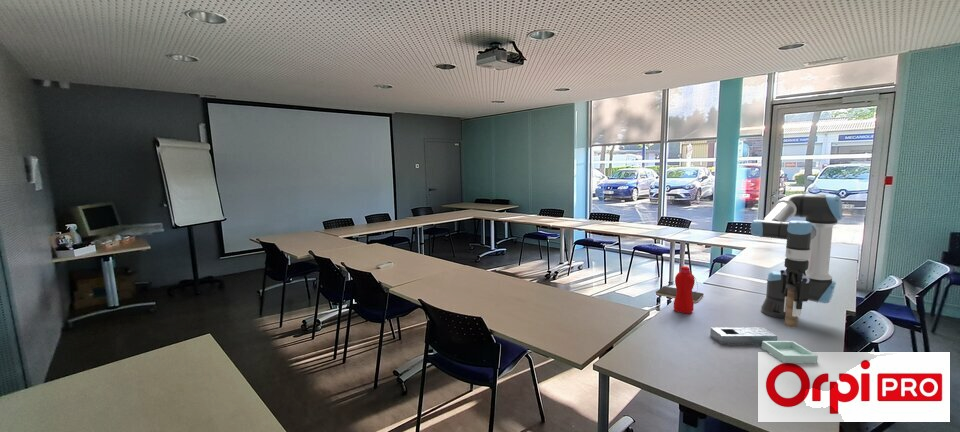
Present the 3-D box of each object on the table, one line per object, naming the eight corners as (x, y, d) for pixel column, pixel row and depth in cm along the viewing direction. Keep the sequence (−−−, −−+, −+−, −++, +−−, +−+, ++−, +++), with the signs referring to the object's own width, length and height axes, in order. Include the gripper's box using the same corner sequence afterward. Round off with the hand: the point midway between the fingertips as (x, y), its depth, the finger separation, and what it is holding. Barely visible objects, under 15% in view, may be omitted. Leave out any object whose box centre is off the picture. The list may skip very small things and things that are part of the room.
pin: (792, 323, 161) (795, 283, 158) (802, 328, 156) (806, 286, 153) (779, 323, 161) (783, 283, 159) (788, 328, 156) (792, 286, 154)
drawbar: (762, 335, 178) (763, 327, 178) (776, 344, 169) (777, 336, 169) (710, 335, 179) (710, 327, 179) (721, 344, 170) (721, 336, 170)
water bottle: (695, 316, 203) (697, 270, 199) (672, 311, 209) (674, 267, 206) (697, 310, 210) (700, 266, 207) (675, 306, 216) (677, 263, 213)
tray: (792, 347, 166) (792, 341, 166) (817, 362, 153) (817, 355, 153) (761, 347, 167) (762, 341, 166) (783, 362, 154) (784, 355, 154)
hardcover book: (696, 304, 221) (696, 300, 221) (655, 295, 237) (655, 291, 236) (703, 296, 233) (703, 293, 232) (663, 289, 248) (663, 285, 248)
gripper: (772, 254, 163) (768, 306, 166) (804, 264, 146) (798, 322, 149) (790, 254, 163) (785, 306, 166) (824, 264, 146) (818, 322, 149)
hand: (791, 313), depth 158 cm, fingers closed on pin, 4 cm apart
